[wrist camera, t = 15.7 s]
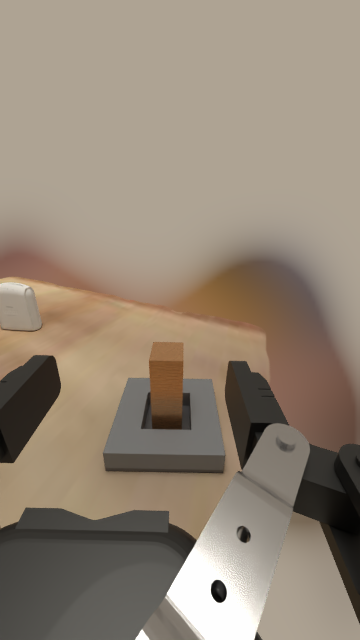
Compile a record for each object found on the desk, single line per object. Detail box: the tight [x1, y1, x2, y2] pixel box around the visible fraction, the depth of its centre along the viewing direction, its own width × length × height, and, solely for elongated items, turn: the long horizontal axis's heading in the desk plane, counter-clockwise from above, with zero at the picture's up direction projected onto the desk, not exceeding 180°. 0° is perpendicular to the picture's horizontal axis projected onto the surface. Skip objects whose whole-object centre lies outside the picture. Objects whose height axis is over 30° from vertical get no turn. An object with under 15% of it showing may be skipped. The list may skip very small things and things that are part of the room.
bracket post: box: [149, 342, 183, 430], centre depth 33 cm, size 4×4×12 cm
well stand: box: [103, 378, 225, 473], centre depth 35 cm, size 14×14×3 cm
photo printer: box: [0, 282, 42, 331], centre depth 62 cm, size 10×4×12 cm, turn 83°
